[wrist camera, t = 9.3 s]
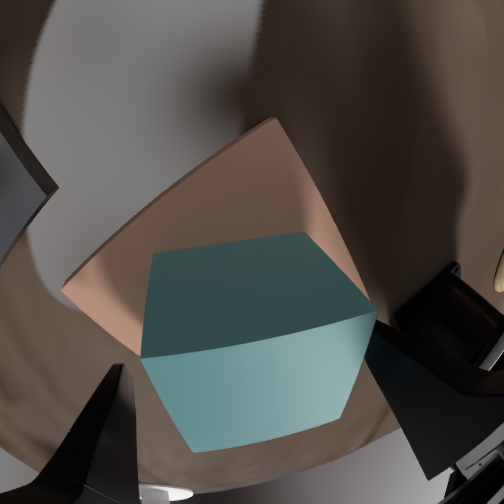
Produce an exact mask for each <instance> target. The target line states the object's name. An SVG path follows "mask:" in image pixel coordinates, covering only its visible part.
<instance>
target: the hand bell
mask: <svg viewBox="0 0 504 504" xmlns="http://www.w3.org/2000/svg"><path fill="white" fill-rule="evenodd" d="M494 288H495V290H496V291H498V292H502V291H504V253H503V255H502V258H501V260H500V263H499V266H498V269H497V272H496V276H495V280H494Z"/></svg>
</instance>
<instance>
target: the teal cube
mask: <svg viewBox="0 0 504 504" xmlns="http://www.w3.org/2000/svg"><path fill="white" fill-rule="evenodd" d="M377 313H378V309H377V308H376V307H375V306H374V305H373V304H372V302H371V301H370V300H369V299H368V298H367V297H366V296H365V295H364V294H363V292H362V291H361V290H360V289H359V288H358V287H357V286H356V285H355V284H354V283H353V282H352V281H351V279H350V278H349V277H348V276H347V275H346V274H345V273H344V272H343V271H342V270H341V269H340V268H339V267H338V266H337V264H336V263H335V262H334V261H333V260H332V259H331V258H330V257H329V256H328V255H327V254H326V253H325V252H324V251H323V250H322V249H321V248H320V247H319V246H318V245H317V244H316V243H315V242H314V241H313V240H312V239H311V238H310V236H309V235H308V234H307V233H306V232H299V233H291V234H284V235H277V236H270V237H263V238H255V239H248V240H241V241H234V242H227V243H221V244H214V245H207V246H200V247H193V248H187V249H180V250H173V251H167V252H160V253H154V254H153V258H152V263H151V270H150V276H149V283H148V290H147V297H146V305H145V313H144V322H143V331H142V342H141V354H140V360H141V362H142V364H143V366H144V368H145V370H146V372H147V374H148V376H149V378H150V380H151V382H152V384H153V386H154V388H155V390H156V391H157V393H158V395H159V397H160V399H161V401H162V402H163V404H164V406H165V408H166V410H167V411H168V413H169V415H170V417H171V418H172V420H173V422H174V423H175V425H176V427H177V428H178V430H179V432H180V433H181V435H182V436H183V438H184V439H185V441H186V443H187V444H188V446H189V447H190V449H191V450H192V452H193V453H195V452H203V451H211V450H218V449H225V448H231V447H236V446H242V445H247V444H252V443H256V442H261V441H265V440H270V439H274V438H278V437H282V436H285V435H289V434H293V433H296V432H300V431H303V430H306V429H310V428H313V427H316V426H319V425H322V424H325V423H328V422H331V421H334V420H336V419H339V418H340V416H341V414H342V412H343V409H344V407H345V405H346V402H347V400H348V397H349V395H350V392H351V390H352V387H353V385H354V382H355V380H356V377H357V374H358V372H359V369H360V366H361V364H362V361H363V358H364V355H365V352H366V349H367V346H368V343H369V340H370V337H371V334H372V330H373V327H374V324H375V320H376V317H377Z"/></svg>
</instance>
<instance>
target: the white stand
mask: <svg viewBox="0 0 504 504" xmlns="http://www.w3.org/2000/svg"><path fill="white" fill-rule="evenodd" d="M139 495H140V499H142V504H170V501H174V500H182V499H186V498H189V497H191V496H193V492H192V491H191V490H189V489H186V488H183V487H177V486H171V485H161V484H146V483H139Z"/></svg>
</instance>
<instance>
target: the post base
mask: <svg viewBox="0 0 504 504" xmlns="http://www.w3.org/2000/svg"><path fill="white" fill-rule="evenodd" d="M58 189H59V187H58V186H57V184H56V183H55V182H54V181H53V179H52V178H51V177H50V176H49V174H48V173H47V172H46V170H45V169H44V168H43V166H42V165H41V164H40V162H39V161H38V160H37V158H36V157H35V156H34V154H33V153H32V151H31V150H30V148H29V147H28V146H27V144H26V143H25V141H24V140H23V138H22V137H21V136H20V134H19V133H18V131H17V130H16V128H15V127H14V125H13V124H12V122H11V120H10V119H9V117H8V116H7V114H6V113H5V111H4V109H3V108H2V106H1V104H0V267H1V266H2V264H3V263H4V261H5V259H6V258H7V256H8V255H9V253H10V252H11V250H12V249H13V247H14V246H15V244H16V243H17V241H18V240H19V238H20V237H21V235H22V234H23V233H24V231H25V230H26V228H27V227H28V226H29V224H30V223H31V222H32V220H33V219H34V218H35V216H36V215H37V214H38V213H39V211H40V210H41V209H42V208H43V206H44V205H45V204H46V203H47V201H48V200H49V199H50V198H51V197H52V196H53V194H54V193H55V192H56V191H57V190H58Z"/></svg>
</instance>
